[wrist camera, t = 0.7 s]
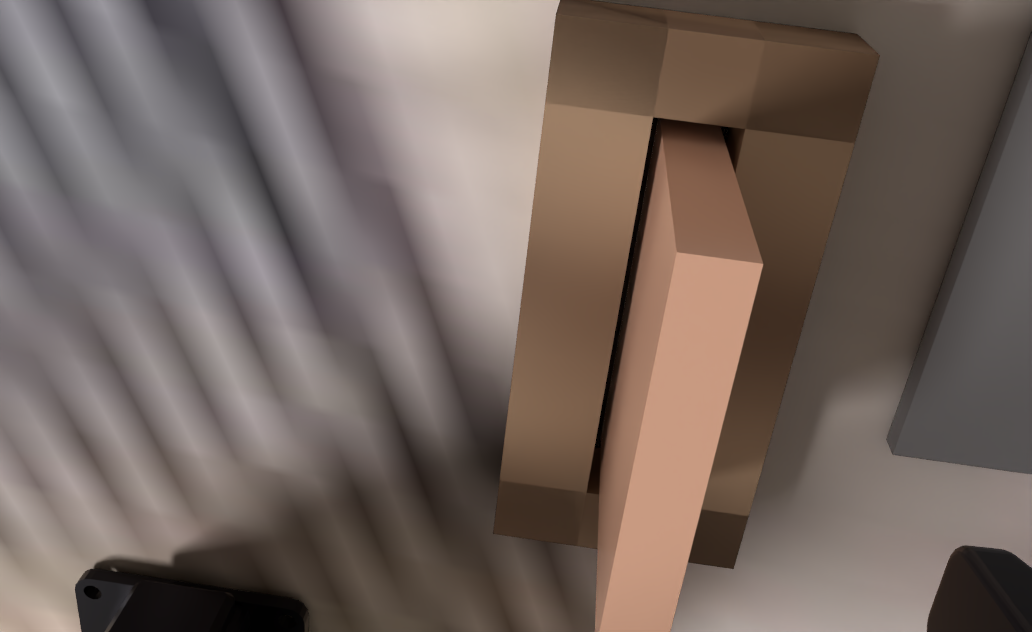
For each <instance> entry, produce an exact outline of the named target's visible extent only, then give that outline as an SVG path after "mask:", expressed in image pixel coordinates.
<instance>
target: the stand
mask: <svg viewBox="0 0 1032 632" xmlns="http://www.w3.org/2000/svg"><path fill="white" fill-rule="evenodd" d="M879 57H880V55H879V54H878V53H877V52H876V51H875V50H874V49H873V48H872V47H870V46H869V45H868V44H867V43H866V42H865V41H864V40H863V39H862V38H861V37H860V36H859V35H858V34H853V33H845V32H837V31H829V30H822V29H814V28H806V27H798V26H790V25H782V24H774V23H766V22H758V21H750V20H742V19H735V18H727V17H719V16H711V15H703V14H695V13H687V12H679V11H671V10H663V9H655V8H648V7H640V6H632V5H624V4H616V3H608V2H600V1H592V0H560V3H559V6H558V10H557V13H556V19H555V27H554V35H553V44H552V52H551V60H550V68H549V77H548V85H547V93H546V101H545V110H544V118H543V126H542V134H541V143H540V151H539V159H538V167H537V176H536V184H535V192H534V200H533V209H532V217H531V225H530V233H529V242H528V250H527V258H526V266H525V275H524V283H523V291H522V299H521V308H520V316H519V324H518V332H517V341H516V349H515V357H514V365H513V374H512V382H511V390H510V398H509V406H508V415H507V423H506V431H505V439H504V448H503V456H502V464H501V472H500V481H499V489H498V497H497V505H496V514H495V522H494V530H493V534H498V535H505V536H512V537H519V538H526V539H532V540H539V541H546V542H553V543H560V544H566V545H573V546H580V547H587V548H594V549H598V519H599V488H600V457H601V448H597V447H595V442H596V436H597V430H598V425H599V419H600V413H601V408H602V402H603V396H604V391H605V385H606V380H607V374H608V368H609V363H610V357H611V351H612V346H613V340H614V335H615V329H616V323H617V318H618V312H619V306H620V301H621V295H622V289H623V284H624V278H625V273H626V267H627V261H628V256H629V250H630V244H631V239H632V233H633V227H634V222H635V216H636V211H637V205H638V199H639V194H640V188H641V182H642V177H643V171H644V166H645V160H646V154H647V149H648V143H649V137H650V132H651V126H652V120H653V117H657V118H664V119H672V120H680V121H687V122H695V123H703V124H710V125H718V126H726V127H729V132H728V137H727V141H726V146H727V150H728V153H729V156H730V159H731V162H732V166H733V169H734V172H735V175H736V178H737V182H738V185H739V188H740V191H741V194H742V198H743V201H744V204H745V207H746V210H747V213H748V217H749V220H750V223H751V226H752V229H753V233H754V236H755V239H756V242H757V245H758V249H759V252H760V255H761V258H762V261H763V267H762V271H761V275H760V279H759V283H758V287H757V291H756V295H755V299H754V303H753V307H752V311H751V315H750V319H749V322H748V326H747V330H746V334H745V338H744V342H743V346H742V350H741V354H740V358H739V362H738V366H737V370H736V374H735V378H734V382H733V386H732V390H731V394H730V397H729V401H728V405H727V409H726V413H725V417H724V421H723V425H722V429H721V433H720V437H719V441H718V445H717V449H716V453H715V457H714V461H713V465H712V469H711V472H710V476H709V480H708V484H707V488H706V492H705V496H704V500H703V504H702V508H701V512H700V516H699V520H698V524H697V528H696V532H695V536H694V540H693V544H692V547H691V551H690V555H689V559H688V562H689V563H696V564H703V565H710V566H717V567H723V568H730V569H734V565H735V562H736V558H737V555H738V551H739V548H740V544H741V541H742V537H743V534H744V530H745V527H746V523H747V520H748V516H749V513H750V509H751V506H752V502H753V499H754V495H755V492H756V488H757V485H758V481H759V478H760V474H761V471H762V467H763V464H764V460H765V457H766V453H767V450H768V446H769V443H770V439H771V436H772V432H773V429H774V425H775V422H776V418H777V415H778V411H779V408H780V404H781V401H782V397H783V394H784V390H785V387H786V383H787V380H788V376H789V372H790V369H791V365H792V362H793V358H794V355H795V351H796V348H797V344H798V341H799V337H800V334H801V330H802V327H803V323H804V320H805V316H806V313H807V309H808V306H809V302H810V299H811V295H812V292H813V288H814V285H815V281H816V278H817V274H818V271H819V267H820V264H821V260H822V257H823V253H824V250H825V246H826V243H827V239H828V236H829V232H830V229H831V225H832V222H833V218H834V215H835V211H836V208H837V204H838V201H839V197H840V194H841V190H842V187H843V183H844V179H845V176H846V172H847V169H848V165H849V162H850V158H851V155H852V151H853V148H854V144H855V141H856V137H857V134H858V130H859V127H860V123H861V120H862V116H863V113H864V109H865V106H866V102H867V99H868V95H869V92H870V88H871V85H872V81H873V78H874V74H875V71H876V67H877V64H878V60H879Z"/></svg>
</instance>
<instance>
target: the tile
mask: <svg viewBox="0 0 1032 632" xmlns="http://www.w3.org/2000/svg"><path fill="white" fill-rule="evenodd" d="M762 267H763V261H762V258H761V255H760V252H759V249H758V245H757V242H756V239H755V236H754V233H753V229H752V226H751V223H750V220H749V217H748V213H747V210H746V207H745V204H744V201H743V198H742V194H741V191H740V188H739V185H738V182H737V178H736V175H735V172H734V169H733V166H732V162H731V159H730V156H729V153H728V150H727V146H726V143H725V140H724V137H723V134H722V130H721V127H720V126H718V125H710V124H703V123H695V122H687V121H680V120H672V119H664V118H658V121H657V127H656V132H655V138H654V143H653V149H652V154H651V160H650V165H649V171H648V177H647V182H646V188H645V193H644V199H643V204H642V210H641V215H640V221H639V226H638V232H637V238H636V243H635V249H634V254H633V260H632V265H631V271H630V276H629V282H628V288H627V293H626V299H625V304H624V310H623V315H622V321H621V326H620V332H619V337H618V343H617V349H616V354H615V360H614V365H613V371H612V376H611V382H610V387H609V393H608V399H607V404H606V410H605V415H604V421H603V426H602V432H601V457H600V488H599V519H598V551H597V582H596V613H595V632H670V630H671V626H672V622H673V619H674V615H675V611H676V607H677V603H678V599H679V595H680V591H681V587H682V583H683V579H684V575H685V571H686V567H687V563H688V559H689V555H690V551H691V547H692V544H693V540H694V536H695V532H696V528H697V524H698V520H699V516H700V512H701V508H702V504H703V500H704V496H705V492H706V488H707V484H708V480H709V476H710V472H711V469H712V465H713V461H714V457H715V453H716V449H717V445H718V441H719V437H720V433H721V429H722V425H723V421H724V417H725V413H726V409H727V405H728V401H729V397H730V394H731V390H732V386H733V382H734V378H735V374H736V370H737V366H738V362H739V358H740V354H741V350H742V346H743V342H744V338H745V334H746V330H747V326H748V322H749V319H750V315H751V311H752V307H753V303H754V299H755V295H756V291H757V287H758V283H759V279H760V275H761V271H762Z"/></svg>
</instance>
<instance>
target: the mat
mask: <svg viewBox="0 0 1032 632" xmlns="http://www.w3.org/2000/svg"><path fill="white" fill-rule="evenodd" d="M886 440H887V442H888V444H889V447H890V449H891V452H892V454H893V455H898V456H905V457H912V458H920V459H927V460H934V461H941V462H948V463H955V464H962V465H969V466H976V467H983V468H990V469H997V470H1004V471H1011V472H1018V473H1026V474H1032V32H1031V35H1030V38H1029V41H1028V44H1027V46H1026V49H1025V52H1024V55H1023V58H1022V60H1021V63H1020V66H1019V69H1018V72H1017V74H1016V77H1015V80H1014V83H1013V86H1012V88H1011V91H1010V94H1009V97H1008V100H1007V102H1006V105H1005V108H1004V111H1003V114H1002V117H1001V119H1000V122H999V125H998V128H997V131H996V133H995V136H994V139H993V142H992V145H991V147H990V150H989V153H988V156H987V159H986V161H985V164H984V167H983V170H982V173H981V175H980V178H979V181H978V184H977V187H976V189H975V192H974V195H973V198H972V201H971V204H970V206H969V209H968V212H967V215H966V218H965V220H964V223H963V226H962V229H961V232H960V234H959V237H958V240H957V243H956V246H955V248H954V251H953V254H952V257H951V260H950V262H949V265H948V268H947V271H946V274H945V276H944V279H943V282H942V285H941V288H940V290H939V293H938V296H937V299H936V302H935V305H934V307H933V310H932V313H931V316H930V319H929V321H928V324H927V327H926V330H925V333H924V335H923V338H922V341H921V344H920V347H919V349H918V352H917V355H916V358H915V361H914V363H913V366H912V369H911V372H910V375H909V377H908V380H907V383H906V386H905V389H904V392H903V394H902V397H901V400H900V403H899V406H898V408H897V411H896V414H895V417H894V420H893V422H892V425H891V428H890V431H889V434H888V436H887V439H886Z"/></svg>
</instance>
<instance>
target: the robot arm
mask: <svg viewBox="0 0 1032 632" xmlns="http://www.w3.org/2000/svg"><path fill="white" fill-rule="evenodd" d="M96 587H97V588H96ZM75 593H76V599H77V605H78V612H79V618H80V625H81V631H82V632H309V612H308V609H307V607H306V606H305V605H304V604H303V603H302V602H300V601H299V600H296V599H293V598H288V597H281V596H274V595H268V594H261V593H254V592H248V591H241V590H235V589H228V588H221V587H215V586H208V585H201V584H195V583H188V582H181V581H175V580H168V579H161V578H155V577H148V576H141V575H135V574H128V573H121V572H115V571H108V570H101V569H90V570H87V571H85V573H84V574H83V575H82V577H81V578H80V579H79V581H78V582H77V584H76V586H75ZM286 615H288V616H291V617H292V618H290V617H288V616H286ZM927 632H1032V568H1031V567H1030V566H1028V565H1027V564H1026V563H1024V562H1023V561H1022V560H1021V559H1019V558H1018V557H1017V556H1015V555H1014V554H1012V553H1011V552H1008V551H1006V550H1002V549H994V548H985V547H975V546H961V547H959V548H957V549H955V551H954V552H953V553H952V554H951V556H950V558H949V560H948V563H947V566H946V569H945V571H944V574H943V577H942V580H941V583H940V585H939V588H938V591H937V594H936V596H935V599H934V602H933V605H932V608H931V610H930V613H929V617H928V623H927Z"/></svg>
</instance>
